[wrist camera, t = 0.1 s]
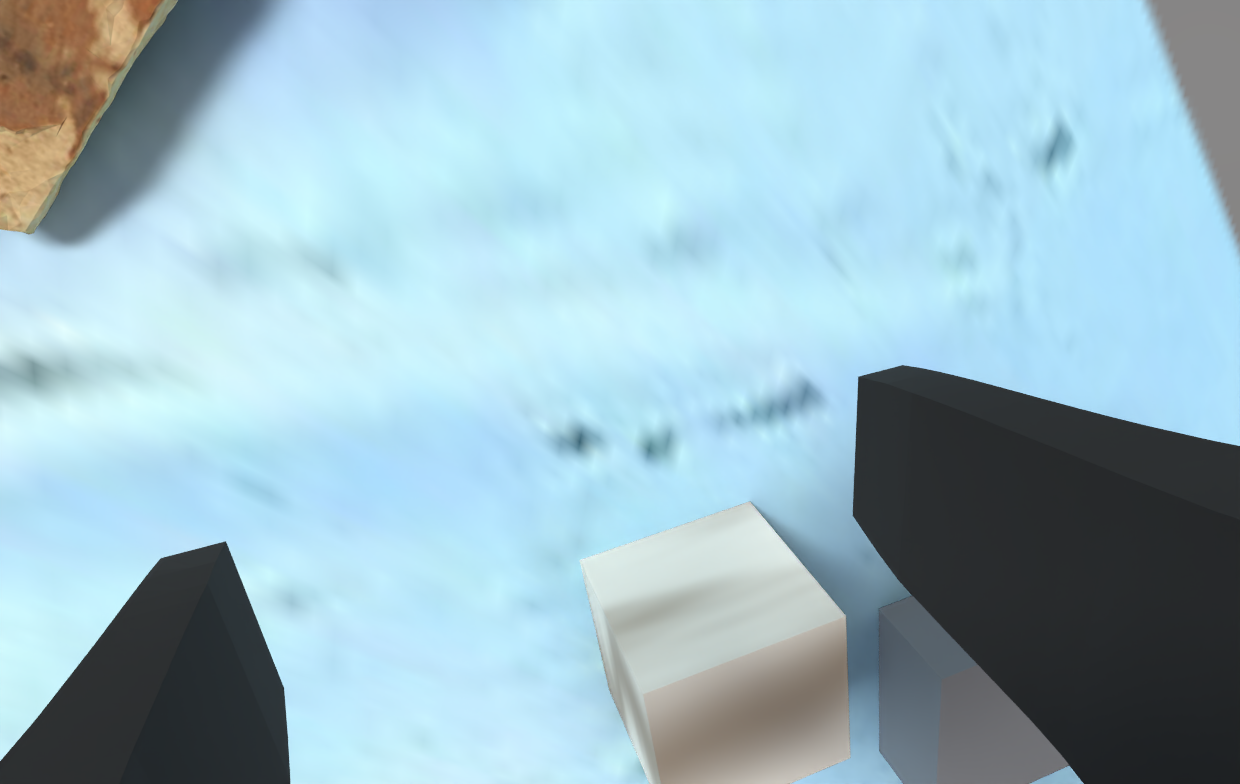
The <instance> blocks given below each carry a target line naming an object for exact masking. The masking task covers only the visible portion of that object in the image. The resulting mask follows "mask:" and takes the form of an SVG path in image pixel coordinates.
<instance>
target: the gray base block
mask: <svg viewBox="0 0 1240 784" xmlns="http://www.w3.org/2000/svg"><path fill="white" fill-rule="evenodd" d="M879 751H880V753H881V754H882V755H883V757H884V758H885V759H886V761H887V762H888V764H889V765H890V766H891V768H892V769H893V770H894V772H895V773H896V775H897V776H898V777H899V779H900V780H901V781H902V783H903V784H1029V783H1032V782H1034V781H1036V780H1038V779H1040V778H1043V777H1045V776H1047V775H1049V774H1052V773H1054V772H1056V771H1058V770H1060V769H1063V768H1065V767H1067V766H1069V764H1068V763H1067V762H1066V760H1065V759H1064V758H1063V757H1062V755H1061V754H1060V753H1059V752H1058V751H1057V750H1056V748H1055V747H1054V746H1053V745H1052V744H1051V743H1050V742H1049V741H1048V739H1047V738H1046V737H1045V736H1044V735H1043V734H1042V733H1041V731H1040V730H1039V729H1038V728H1037V727H1036V726H1035V725H1034V723H1033V722H1032V721H1031V720H1030V719H1029V718H1028V717H1027V716H1026V715H1025V714H1024V713H1023V712H1022V711H1021V710H1020V709H1019V707H1018V706H1017V705H1016V704H1015V703H1014V702H1013V701H1012V700H1011V699H1010V698H1009V697H1008V696H1007V695H1006V694H1005V693H1004V692H1003V691H1002V690H1001V689H1000V688H999V686H998V685H997V684H996V683H995V682H994V681H993V680H992V679H991V678H990V677H989V676H988V675H987V674H986V673H985V672H984V671H983V670H982V669H981V668H980V667H979V665H978V664H977V663H976V662H975V661H974V660H973V659H972V658H971V657H970V656H969V655H968V654H967V653H966V652H965V651H964V650H963V649H962V648H961V647H960V646H959V645H958V643H957V642H956V641H955V640H954V639H953V638H952V637H951V636H950V635H949V634H948V633H947V632H946V631H945V630H944V629H943V628H942V627H941V626H940V624H939V623H938V622H937V621H936V620H935V619H934V618H933V617H932V616H931V615H930V614H929V613H928V612H927V611H926V609H925V608H924V607H923V606H922V605H921V604H920V603H919V602H918V601H917V600H916V599H915V598H914V597H913V596H910V597H908V598H905V599H903V600H900V601H897V602H895V603H892V604H890V605H887V606H885V607H882V608H879Z"/></svg>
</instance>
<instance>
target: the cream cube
mask: <svg viewBox="0 0 1240 784" xmlns="http://www.w3.org/2000/svg"><path fill="white" fill-rule="evenodd" d="M580 564H581V568H582V573H583V577H584V582H585V586H586V590H587V595H588V599H589V603H590V608H591V612H592V617H593V621H594V625H595V630H596V634H597V638H598V643H599V647H600V652H601V656H602V660H603V665H604V669H605V673H606V678H607V682H608V687H609V690H610V693H611V695H612V697H613V700H614V702H615V704H616V707H617V709H618V711H619V714H620V716H621V718H622V721H623V723H624V725H625V728H626V730H627V732H628V735H629V737H630V739H631V742H632V744H633V746H634V749H635V751H636V753H637V756H638V758H639V760H640V763H641V765H642V767H643V770H644V772H645V774H646V777H647V779H648V781H649V784H790V783H793V782H795V781H797V780H800V779H802V778H804V777H807V776H809V775H811V774H814V773H816V772H819V771H821V770H823V769H826V768H828V767H830V766H833V765H835V764H837V763H840V762H842V761H844V760H847V759H849V758H850V730H849V697H848V664H847V631H846V615H845V614H844V613H843V612H842V611H841V609H840V608H839V607H838V606H837V605H836V603H835V602H834V601H833V600H832V599H831V598H830V596H829V595H828V594H827V593H826V592H825V590H824V589H823V588H822V587H821V586H820V584H819V583H818V582H817V581H816V580H815V578H814V577H813V576H812V575H811V574H810V572H809V571H808V570H807V569H806V568H805V567H804V565H803V564H802V563H801V562H800V561H799V559H798V558H797V557H796V556H795V555H794V553H793V552H792V551H791V550H790V549H789V547H788V546H787V545H786V544H785V543H784V541H783V540H782V539H781V538H780V537H779V536H778V534H777V533H776V532H775V531H774V530H773V528H772V527H771V526H770V525H769V524H768V522H767V521H766V520H765V519H764V518H763V516H762V515H761V514H760V513H759V512H758V511H757V509H756V508H755V507H754V506H753V505H752V503H751V502H747V503H744V504H741V505H738V506H735V507H732V508H729V509H726V510H724V511H721V512H718V513H715V514H712V515H709V516H706V517H703V518H700V519H697V520H695V521H692V522H689V523H686V524H683V525H680V526H677V527H674V528H671V529H668V530H665V531H663V532H660V533H657V534H654V535H651V536H648V537H645V538H642V539H639V540H636V541H633V542H631V543H628V544H625V545H622V546H619V547H616V548H613V549H610V550H607V551H604V552H602V553H599V554H596V555H593V556H590V557H587V558H584V559H581V560H580Z"/></svg>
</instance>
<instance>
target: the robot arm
mask: <svg viewBox="0 0 1240 784" xmlns="http://www.w3.org/2000/svg"><path fill="white" fill-rule="evenodd" d="M853 516H854V518H855V519H856V521H857V522H858V524H859V525H860V527H861V528H862V530H863V531H864V533H865V534H866V536H867V537H868V539H869V540H870V541H871V543H872V544H873V546H874V547H875V549H876V550H877V552H878V553H879V554H880V556H881V557H882V558H883V560H884V561H885V563H886V564H887V565H888V567H889V568H890V569H891V571H892V572H893V573H894V575H895V576H896V577H897V579H898V580H899V581H900V582H901V583H902V584H903V586H904V587H905V588H906V589H907V590H908V591H909V592H910V593H911V594H912V596H913V597H914V598H915V599H916V600H917V601H918V602H919V603H920V604H921V605H922V606H923V607H924V608H925V609H926V611H927V612H928V613H929V614H930V615H931V616H932V617H933V618H934V619H935V620H936V621H937V622H938V623H939V624H940V626H941V627H942V628H943V629H944V630H945V631H946V632H947V633H948V634H949V635H950V636H951V637H952V638H953V639H954V640H955V641H956V642H957V643H958V645H959V646H960V647H961V648H962V649H963V650H964V651H965V652H966V653H967V654H968V655H969V656H970V657H971V658H972V659H973V660H974V661H975V662H976V663H977V664H978V665H979V667H980V668H981V669H982V670H983V671H984V672H985V673H986V674H987V675H988V676H989V677H990V678H991V679H992V680H993V681H994V682H995V683H996V684H997V685H998V686H999V688H1000V689H1001V690H1002V691H1003V692H1004V693H1005V694H1006V695H1007V696H1008V697H1009V698H1010V699H1011V700H1012V701H1013V702H1014V703H1015V704H1016V705H1017V706H1018V707H1019V709H1020V710H1021V711H1022V712H1023V713H1024V714H1025V715H1026V716H1027V717H1028V718H1029V719H1030V720H1031V721H1032V722H1033V723H1034V725H1035V726H1036V727H1037V728H1038V729H1039V730H1040V731H1041V733H1042V734H1043V735H1044V736H1045V737H1046V738H1047V739H1048V741H1049V742H1050V743H1051V744H1052V745H1053V746H1054V747H1055V748H1056V750H1057V751H1058V752H1059V753H1060V754H1061V755H1062V757H1063V758H1064V759H1065V760H1066V762H1067V763H1068V764H1069V765H1070V767H1071V768H1072V769H1073V771H1074V772H1075V773H1076V774H1077V776H1078V777H1079V778H1080V780H1081V781H1082V782H1083V783H1084V784H1240V446H1236V445H1231V444H1226V443H1221V442H1216V441H1211V440H1207V439H1202V438H1198V437H1194V436H1189V435H1185V434H1180V433H1176V432H1172V431H1167V430H1163V429H1158V428H1154V427H1150V426H1145V425H1141V424H1137V423H1133V422H1129V421H1125V420H1121V419H1117V418H1113V417H1109V416H1105V415H1101V414H1097V413H1094V412H1090V411H1086V410H1082V409H1078V408H1075V407H1071V406H1067V405H1063V404H1060V403H1056V402H1052V401H1048V400H1045V399H1041V398H1037V397H1034V396H1030V395H1026V394H1023V393H1019V392H1015V391H1012V390H1008V389H1004V388H1001V387H997V386H993V385H989V384H986V383H982V382H978V381H974V380H970V379H966V378H962V377H958V376H954V375H950V374H946V373H942V372H937V371H933V370H928V369H923V368H917V367H910V366H904V365H902V366H898V367H894V368H890V369H887V370H883V371H879V372H875V373H871V374H867V375H864V376H860V377H858V400H857V424H856V449H855V473H854V498H853ZM0 784H290V768H289V750H288V734H287V722H286V709H285V696H284V687H283V685H282V682H281V680H280V677H279V675H278V672H277V669H276V667H275V664H274V662H273V659H272V657H271V654H270V652H269V649H268V647H267V644H266V642H265V639H264V637H263V634H262V632H261V629H260V627H259V624H258V622H257V619H256V616H255V614H254V611H253V609H252V606H251V604H250V601H249V599H248V596H247V594H246V591H245V589H244V586H243V584H242V581H241V579H240V576H239V574H238V571H237V568H236V566H235V563H234V561H233V558H232V556H231V553H230V551H229V548H228V546H227V543H226V542H222V543H218V544H214V545H210V546H207V547H203V548H199V549H195V550H191V551H187V552H183V553H180V554H176V555H172V556H168V557H164V558H161V559H160V560H159V561H158V562H157V564H156V565H155V566H154V567H153V568H152V570H151V571H150V572H149V573H148V575H147V576H146V577H145V578H144V580H143V581H142V582H141V584H140V585H139V586H138V588H137V589H136V590H135V592H134V593H133V594H132V596H131V597H130V598H129V600H128V601H127V602H126V603H125V605H124V606H123V607H122V609H121V610H120V611H119V613H118V614H117V615H116V617H115V618H114V619H113V621H112V622H111V623H110V625H109V626H108V627H107V629H106V630H105V631H104V633H103V634H102V635H101V637H100V638H99V639H98V641H97V642H96V643H95V645H94V646H93V647H92V648H91V650H90V651H89V652H88V654H87V655H86V656H85V657H84V659H83V660H82V661H81V663H80V664H79V665H78V666H77V668H76V669H75V670H74V672H73V673H72V674H71V675H70V677H69V678H68V679H67V681H66V682H65V683H64V684H63V686H62V687H61V688H60V690H59V691H58V692H57V693H56V695H55V696H54V697H53V698H52V700H51V701H50V702H49V704H48V705H47V706H46V707H45V709H44V710H43V711H42V713H41V714H40V715H39V716H38V718H37V719H36V720H35V721H34V722H33V724H32V725H31V726H30V727H29V728H28V729H27V731H26V732H25V733H24V734H23V735H22V737H21V738H20V739H19V740H18V741H17V742H16V744H15V745H14V746H13V747H12V748H11V749H10V751H9V752H8V753H7V754H6V755H5V756H4V758H3V759H2V760H1V761H0Z"/></svg>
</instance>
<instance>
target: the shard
mask: <svg viewBox="0 0 1240 784" xmlns="http://www.w3.org/2000/svg"><path fill="white" fill-rule="evenodd" d="M177 1H178V0H0V229H2V230H9V231H19V232H24V233H27V234H32V233H34V231H35V229H36V227H37V226H38V225H39V224H40V222H41V220H42V219H43V218H45V216H46V214H47V212H48V211H49V209H50V207H51V205H52V204H53V202H54V200H55V198H56V196H57V195H58V193H59V190H60V186H61V183H62V181H63V179H64V178H65V177H66V175H67V174H68V172H69V170H70V168H71V167H72V166H73V165H74V164H75V162H76V161H77V159H78V157H79V155H80V154H81V152H82V150H83V149H84V147H85V145H86V143H87V141H88V139H89V137H90V135H91V133H92V131H93V130H94V129H95V127H96V126H97V124H98V123H99V121H100V119H101V117H102V116H103V114H104V112H105V111H106V110H107V109H108V107H109V106H110V105H111V103H112V101H113V99H114V98H115V96H116V93H117V91H118V89H119V87H120V86H121V84H122V82H123V80H124V78H125V76H126V74H127V73H128V72H129V70H130V68H131V67H132V65H133V63H134V61H135V60H136V58H137V57H138V56H139V54H140V53H141V51H142V50H143V49H144V48H145V46H146V45H147V44H148V42H149V41H150V39H151V38H152V36H153V35H154V34H155V32H156V31H157V30H158V29H159V28H160V27H161V26H162V25H163V23H164V22H165V20H166V17H167V14H168V13H169V12H170V11H171V10H172V9H173V8H174V6H175V5H176V3H177Z"/></svg>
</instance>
